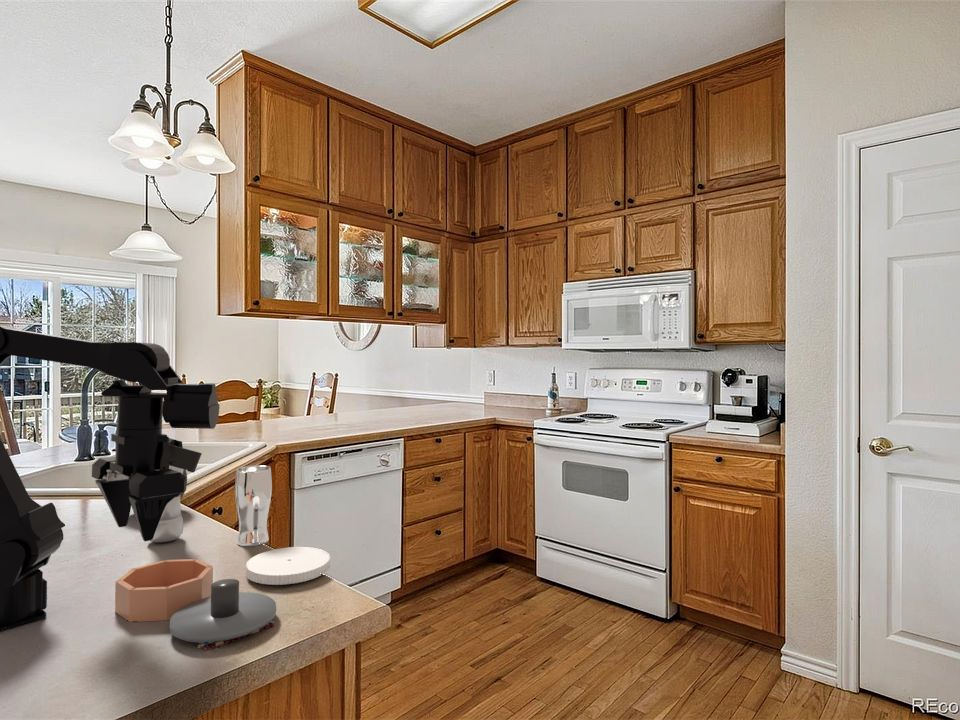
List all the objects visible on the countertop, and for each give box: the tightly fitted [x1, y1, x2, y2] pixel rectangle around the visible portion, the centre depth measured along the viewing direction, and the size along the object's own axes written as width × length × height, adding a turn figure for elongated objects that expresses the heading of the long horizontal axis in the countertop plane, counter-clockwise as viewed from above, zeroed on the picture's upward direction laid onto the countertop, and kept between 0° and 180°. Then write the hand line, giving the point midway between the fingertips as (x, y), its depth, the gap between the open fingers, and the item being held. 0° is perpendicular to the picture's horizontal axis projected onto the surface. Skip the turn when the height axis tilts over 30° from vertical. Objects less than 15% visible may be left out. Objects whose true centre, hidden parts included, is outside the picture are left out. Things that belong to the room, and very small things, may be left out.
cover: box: [169, 578, 277, 643], centre depth 79 cm, size 14×14×5 cm
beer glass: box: [234, 465, 273, 548], centre depth 115 cm, size 7×7×15 cm
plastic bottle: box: [150, 465, 184, 543], centre depth 114 cm, size 6×7×20 cm
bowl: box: [114, 558, 214, 623], centre depth 86 cm, size 12×12×4 cm
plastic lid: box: [245, 546, 331, 586], centre depth 99 cm, size 14×14×2 cm
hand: (134, 533), depth 83 cm, fingers open, 9 cm apart
